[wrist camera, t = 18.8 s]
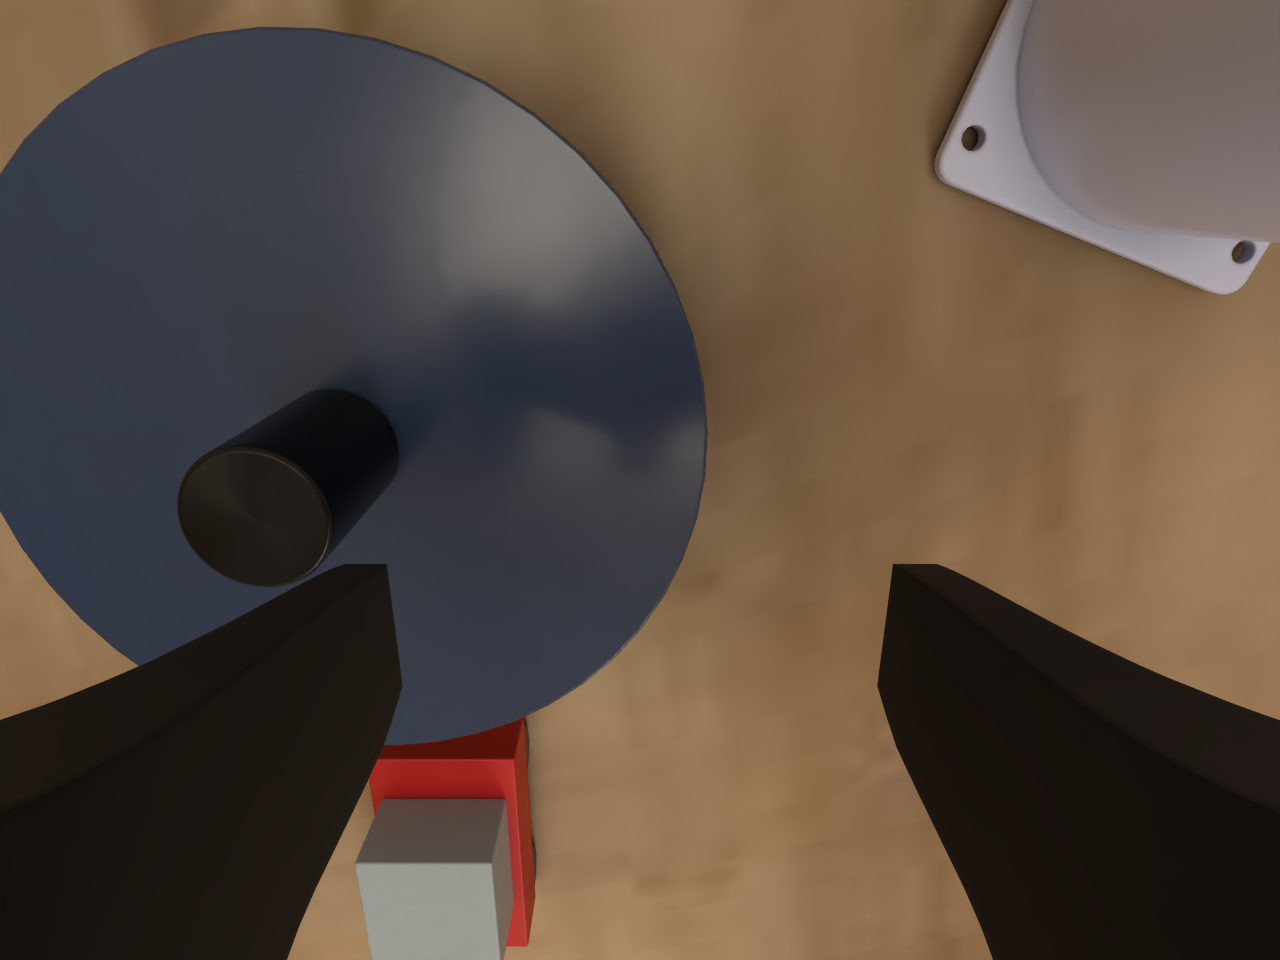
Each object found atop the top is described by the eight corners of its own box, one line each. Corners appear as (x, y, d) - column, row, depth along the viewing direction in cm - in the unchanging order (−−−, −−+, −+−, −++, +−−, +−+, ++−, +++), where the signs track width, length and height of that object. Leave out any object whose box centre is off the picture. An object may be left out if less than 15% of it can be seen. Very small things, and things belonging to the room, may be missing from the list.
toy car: (392, 703, 23) (334, 822, 18) (526, 703, 23) (500, 822, 18) (416, 879, 25) (370, 1021, 21) (537, 879, 25) (517, 1022, 21)
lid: (27, -101, 13) (-291, -253, 8) (817, 212, 15) (893, 222, 10) (-21, 611, 18) (-240, 750, 13) (577, 782, 19) (558, 955, 15)
